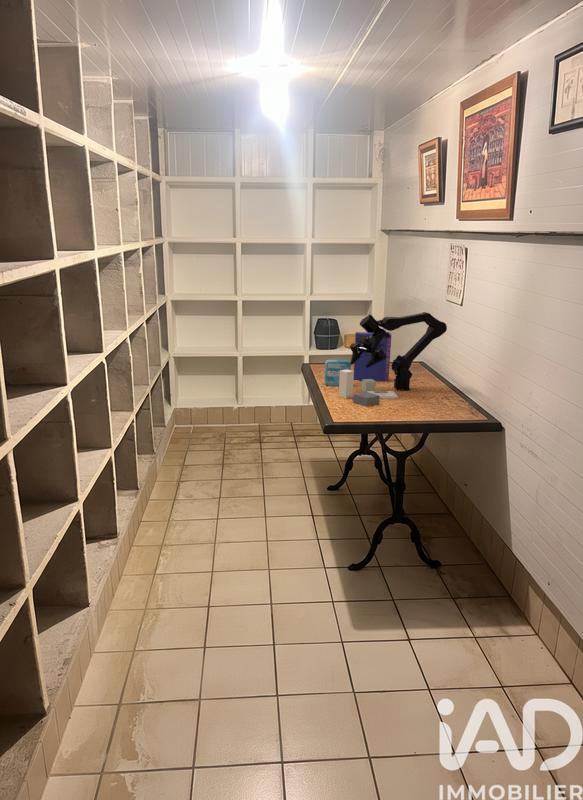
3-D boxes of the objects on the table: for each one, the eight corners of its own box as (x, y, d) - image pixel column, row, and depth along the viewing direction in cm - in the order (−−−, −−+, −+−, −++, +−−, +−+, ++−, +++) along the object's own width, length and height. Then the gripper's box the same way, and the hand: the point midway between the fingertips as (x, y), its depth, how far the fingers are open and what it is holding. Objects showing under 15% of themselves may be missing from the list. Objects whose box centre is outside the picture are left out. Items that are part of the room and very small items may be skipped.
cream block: (345, 394, 276) (346, 369, 273) (352, 396, 273) (353, 371, 270) (338, 396, 274) (339, 370, 270) (345, 398, 270) (347, 372, 267)
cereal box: (387, 379, 309) (390, 332, 303) (388, 381, 305) (391, 334, 298) (353, 378, 310) (355, 331, 303) (353, 380, 305) (356, 333, 299)
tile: (392, 393, 281) (392, 390, 281) (397, 398, 272) (397, 395, 272) (366, 393, 280) (367, 390, 279) (371, 398, 271) (371, 395, 271)
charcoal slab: (365, 400, 269) (366, 391, 268) (379, 404, 263) (379, 395, 262) (352, 403, 264) (353, 394, 263) (366, 407, 258) (366, 398, 257)
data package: (325, 385, 293) (326, 361, 290) (324, 383, 297) (325, 359, 294) (349, 386, 294) (351, 361, 291) (348, 383, 298) (349, 359, 295)
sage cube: (371, 389, 288) (371, 379, 287) (375, 391, 284) (376, 381, 282) (361, 389, 287) (362, 379, 286) (365, 392, 282) (366, 381, 281)
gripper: (353, 325, 281) (335, 351, 277) (384, 330, 267) (366, 358, 263) (363, 341, 288) (346, 366, 284) (394, 346, 274) (377, 373, 270)
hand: (358, 365), depth 275 cm, fingers open, 9 cm apart
